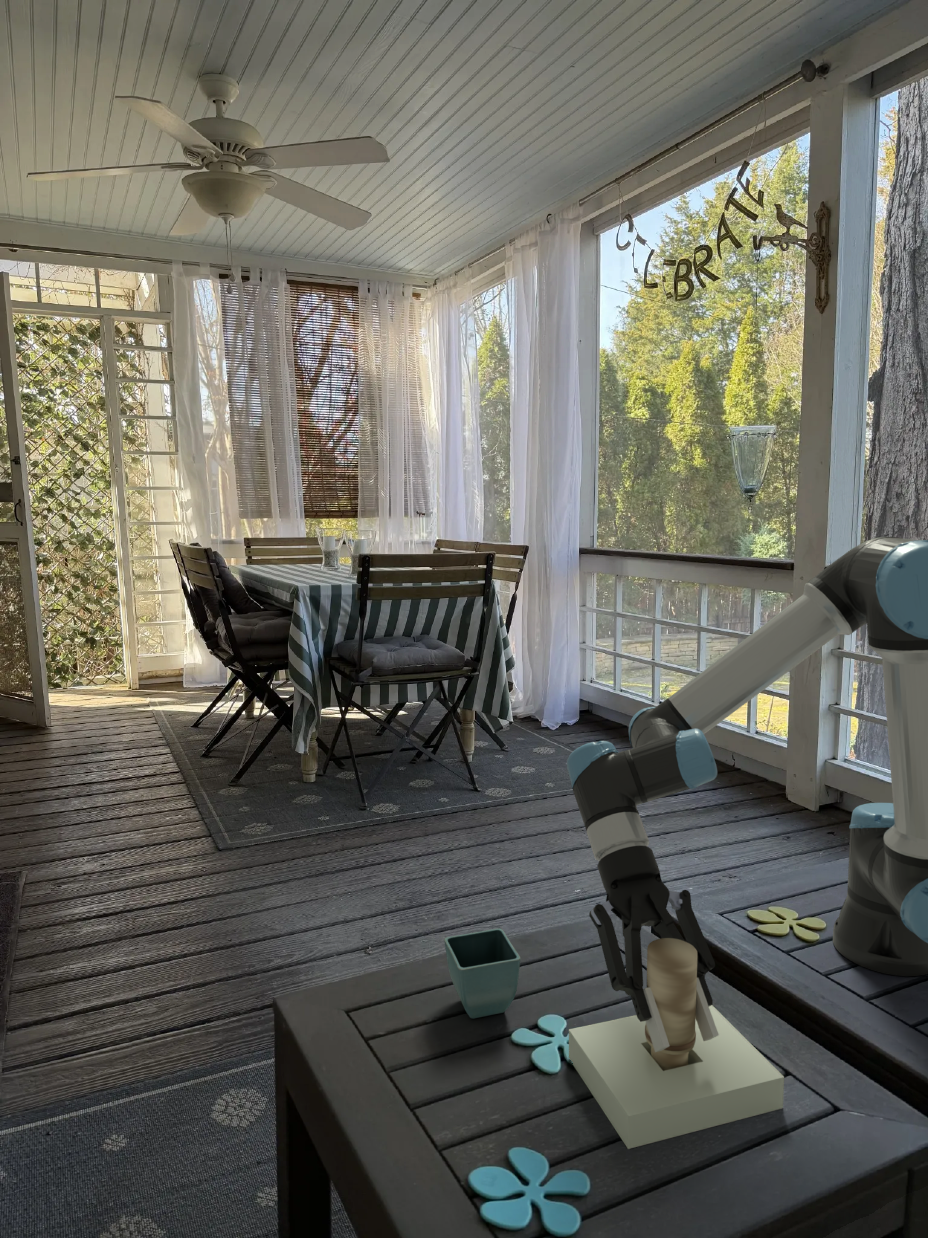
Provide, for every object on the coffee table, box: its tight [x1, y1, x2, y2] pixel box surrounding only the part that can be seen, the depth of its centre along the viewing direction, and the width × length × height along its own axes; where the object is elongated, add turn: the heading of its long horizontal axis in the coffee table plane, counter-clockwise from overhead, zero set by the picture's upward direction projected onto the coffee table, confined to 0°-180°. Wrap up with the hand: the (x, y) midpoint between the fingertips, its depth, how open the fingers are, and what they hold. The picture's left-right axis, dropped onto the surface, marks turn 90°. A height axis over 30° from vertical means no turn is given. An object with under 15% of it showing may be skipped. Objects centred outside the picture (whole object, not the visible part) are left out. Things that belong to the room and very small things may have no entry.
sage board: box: [568, 1005, 785, 1150], centre depth 104 cm, size 20×16×4 cm
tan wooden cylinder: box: [645, 937, 697, 1071], centre depth 103 cm, size 6×6×15 cm
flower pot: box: [443, 928, 521, 1019], centre depth 120 cm, size 9×9×9 cm
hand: (686, 1043), depth 100 cm, fingers closed on tan wooden cylinder, 6 cm apart
